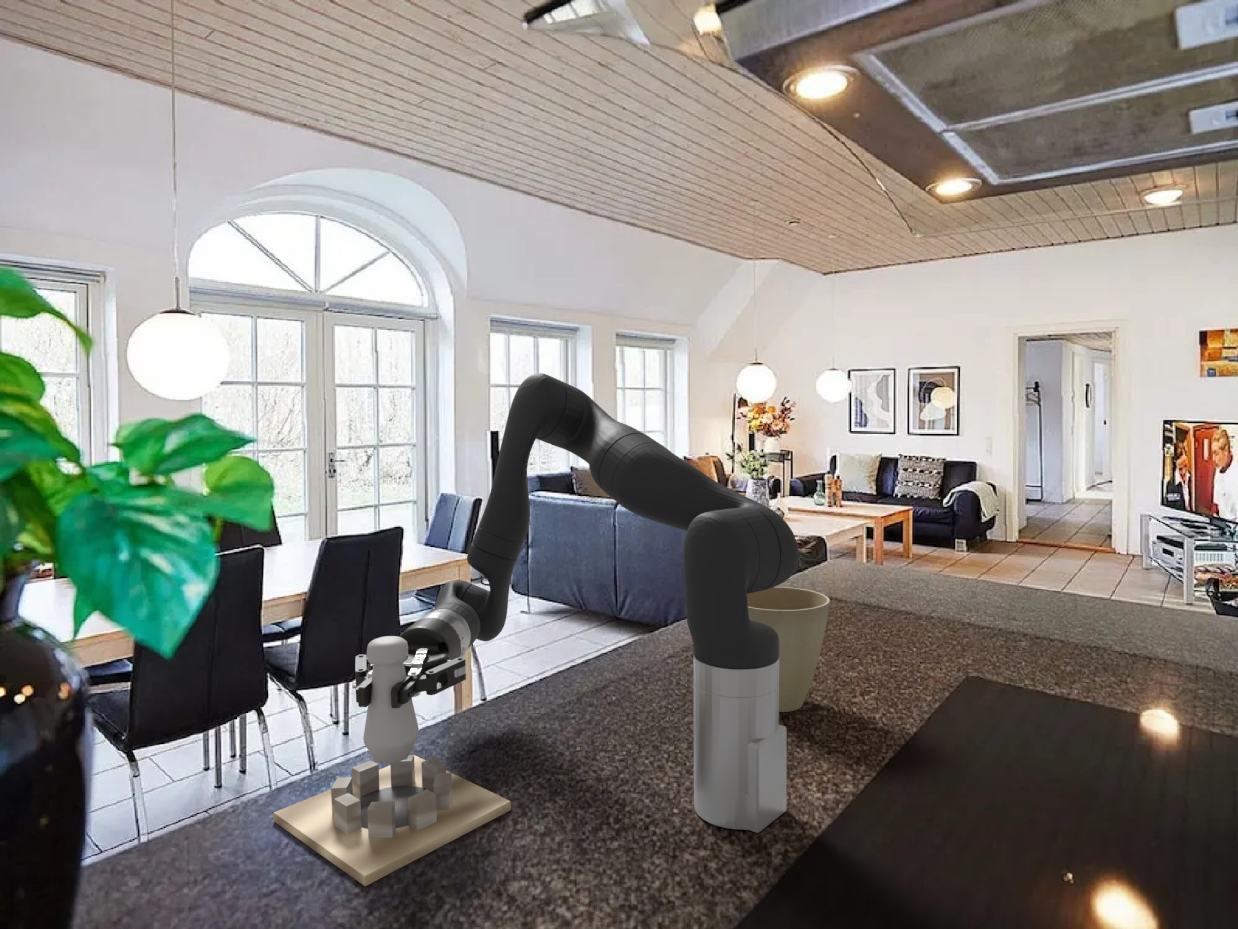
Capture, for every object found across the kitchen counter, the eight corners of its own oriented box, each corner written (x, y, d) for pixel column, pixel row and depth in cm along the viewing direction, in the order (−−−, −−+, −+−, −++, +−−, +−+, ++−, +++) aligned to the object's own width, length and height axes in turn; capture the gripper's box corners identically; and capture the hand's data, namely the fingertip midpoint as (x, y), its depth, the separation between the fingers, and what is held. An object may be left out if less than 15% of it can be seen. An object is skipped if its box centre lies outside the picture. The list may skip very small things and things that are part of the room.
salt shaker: (399, 738, 91) (394, 627, 89) (430, 753, 87) (426, 637, 86) (353, 757, 86) (348, 640, 85) (384, 773, 82) (379, 651, 81)
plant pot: (848, 703, 117) (849, 597, 116) (789, 732, 107) (790, 616, 106) (766, 678, 128) (766, 581, 127) (705, 702, 118) (705, 597, 117)
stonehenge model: (510, 810, 88) (510, 775, 87) (365, 886, 74) (363, 845, 74) (415, 763, 99) (414, 732, 99) (274, 821, 86) (272, 785, 86)
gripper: (378, 615, 100) (311, 662, 83) (487, 618, 99) (442, 666, 82) (380, 673, 101) (315, 731, 84) (488, 676, 100) (444, 736, 82)
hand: (378, 698), depth 83 cm, fingers closed on salt shaker, 3 cm apart
